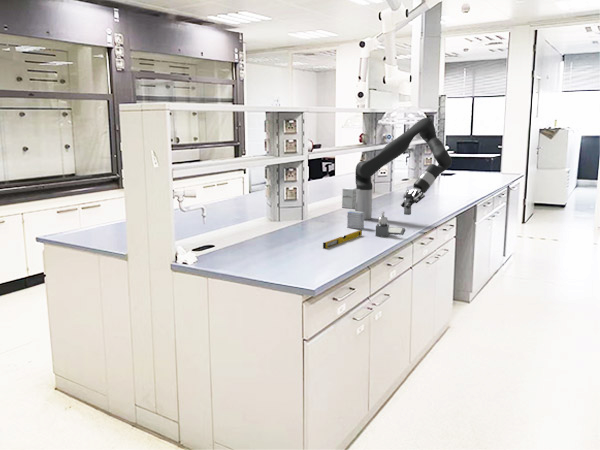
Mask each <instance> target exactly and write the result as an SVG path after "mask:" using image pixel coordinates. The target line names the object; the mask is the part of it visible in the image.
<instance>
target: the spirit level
mask: <svg viewBox="0 0 600 450" xmlns="http://www.w3.org/2000/svg"><path fill="white" fill-rule="evenodd" d="M362 233H363V230H362V229H358V230H357V231H354V232H350V233H347V234H345V235H344V236H340V237H339V236H338V237H336V238H334V239H331V240H328V241H324V242H323V243H322V249H326V250H327V249H328V248H331V247H334V246H337V245H339V244H342V243H345V242H347V241H350V240H353V239H356V238H358V236H359V237H361V235H362ZM362 236H363V235H362Z"/></svg>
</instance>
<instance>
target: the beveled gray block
mask: <svg viewBox="0 0 600 450" xmlns="http://www.w3.org/2000/svg"><path fill="white" fill-rule="evenodd" d="M377 221H378V223H377V224H376V225H375V234H374V235H375V237H381V236H383V238H384V237H386V238H388V237H389V236H390V234H389V227H390V224H388V217H386V216H385V211H381V216H378V220H377Z"/></svg>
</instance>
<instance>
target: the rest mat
mask: <svg viewBox="0 0 600 450" xmlns="http://www.w3.org/2000/svg"><path fill="white" fill-rule="evenodd" d="M405 229H406V228H405V227H394V226H393V227H392V226H389V235H398V234H402V235H403V234H404V232H405Z"/></svg>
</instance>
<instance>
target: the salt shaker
mask: <svg viewBox="0 0 600 450" xmlns="http://www.w3.org/2000/svg"><path fill="white" fill-rule="evenodd" d="M403 197H404V198H403V201H404V207H403V214H404V216H405V215H407V216H411V215H412V206H411V207H410V208H409V209H407V208H406V205H407V203H408V202H409V201H410V200H411V198H412V194H405V193H403Z"/></svg>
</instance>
